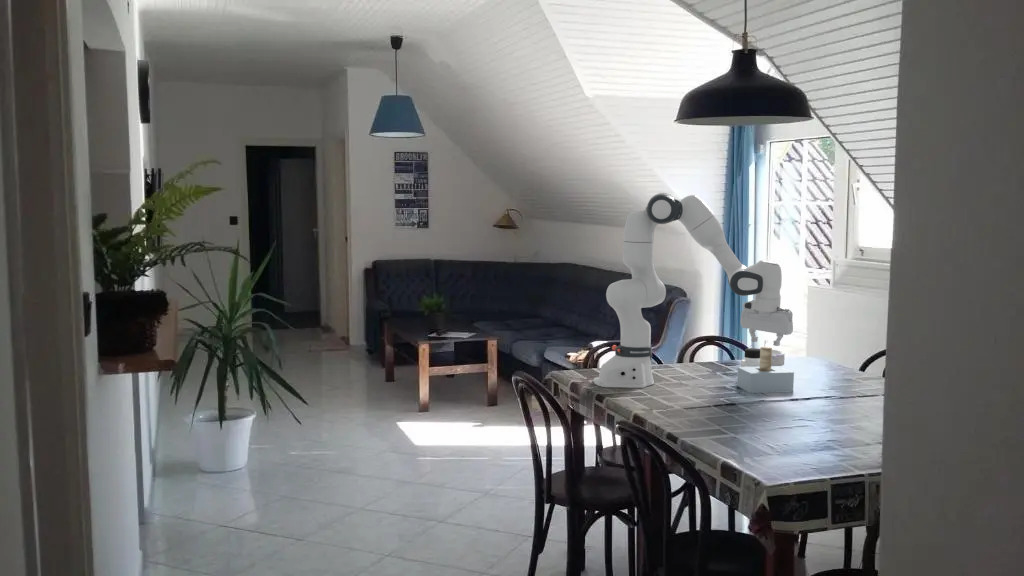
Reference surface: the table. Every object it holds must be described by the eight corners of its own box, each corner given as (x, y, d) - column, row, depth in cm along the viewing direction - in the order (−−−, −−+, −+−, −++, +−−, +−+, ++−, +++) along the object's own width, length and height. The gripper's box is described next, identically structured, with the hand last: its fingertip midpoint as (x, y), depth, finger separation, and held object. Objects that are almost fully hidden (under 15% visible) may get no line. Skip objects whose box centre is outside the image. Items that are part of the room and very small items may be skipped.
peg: (763, 387, 316) (765, 349, 315) (756, 385, 320) (758, 347, 319) (772, 386, 318) (774, 348, 316) (765, 384, 321) (767, 346, 320)
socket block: (750, 392, 312) (751, 373, 311) (737, 385, 324) (737, 367, 323) (793, 391, 314) (793, 372, 314) (778, 384, 326) (779, 366, 325)
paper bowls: (770, 376, 342) (771, 356, 341) (737, 370, 353) (737, 351, 352) (791, 371, 352) (792, 351, 351) (758, 365, 363) (758, 346, 362)
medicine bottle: (763, 381, 331) (764, 350, 330) (744, 381, 332) (745, 350, 330) (759, 377, 339) (760, 347, 337) (740, 377, 339) (741, 346, 337)
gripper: (797, 308, 310) (795, 347, 312) (749, 301, 326) (747, 338, 328) (787, 309, 306) (785, 349, 308) (738, 302, 322) (737, 340, 324)
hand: (765, 343), depth 318 cm, fingers open, 8 cm apart
